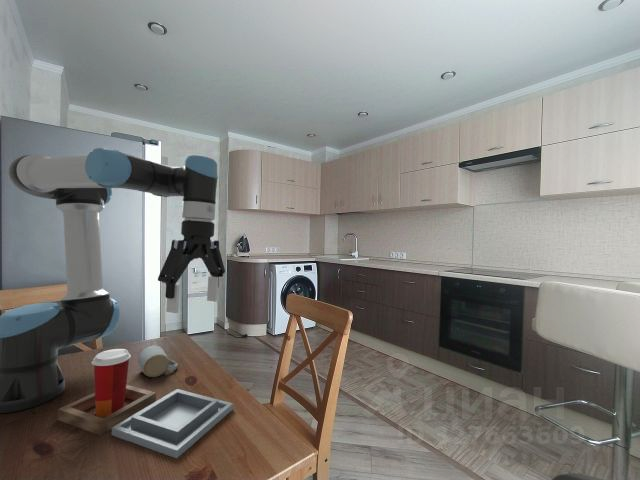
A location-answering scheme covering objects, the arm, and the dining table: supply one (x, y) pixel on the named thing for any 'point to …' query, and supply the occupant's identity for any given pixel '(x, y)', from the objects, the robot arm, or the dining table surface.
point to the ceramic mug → (155, 361)
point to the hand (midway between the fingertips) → (193, 306)
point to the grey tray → (173, 422)
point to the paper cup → (110, 380)
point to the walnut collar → (101, 425)
